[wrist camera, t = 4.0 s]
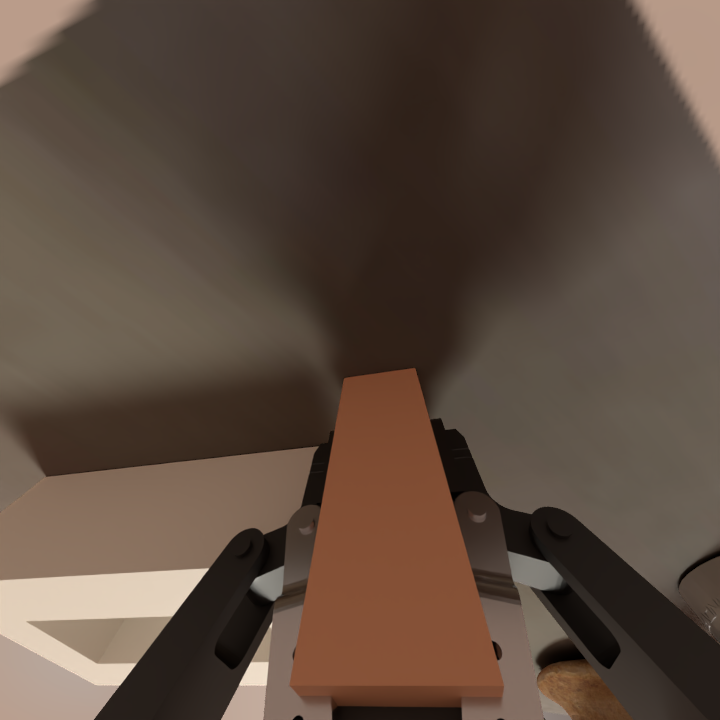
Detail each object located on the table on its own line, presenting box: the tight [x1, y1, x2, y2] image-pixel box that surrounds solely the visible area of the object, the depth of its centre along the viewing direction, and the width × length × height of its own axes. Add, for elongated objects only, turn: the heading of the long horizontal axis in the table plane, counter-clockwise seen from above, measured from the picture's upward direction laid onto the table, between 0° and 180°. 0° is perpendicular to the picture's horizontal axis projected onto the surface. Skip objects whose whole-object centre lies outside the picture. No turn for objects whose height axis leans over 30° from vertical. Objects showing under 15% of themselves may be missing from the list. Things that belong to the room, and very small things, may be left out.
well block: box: [0, 446, 319, 686], centre depth 17 cm, size 19×14×6 cm
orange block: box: [289, 368, 504, 707], centre depth 10 cm, size 4×4×10 cm
